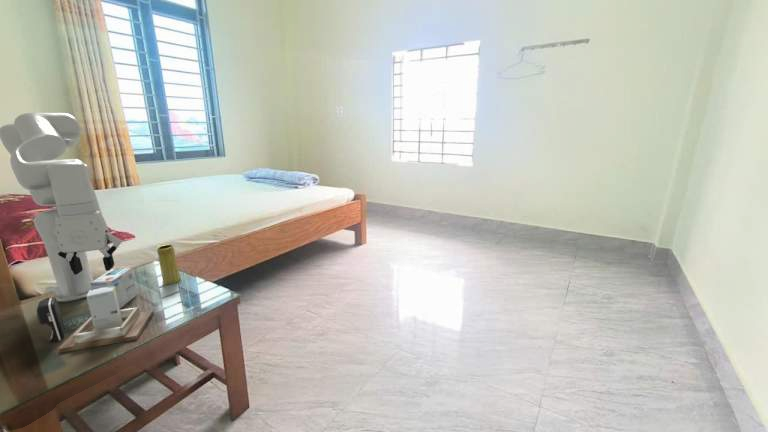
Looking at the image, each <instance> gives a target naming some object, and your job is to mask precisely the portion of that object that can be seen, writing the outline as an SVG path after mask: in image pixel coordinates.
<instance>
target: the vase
mask: <svg viewBox="0 0 768 432" xmlns="http://www.w3.org/2000/svg"><path fill="white" fill-rule="evenodd" d="M156 249H157V254H158V255H157V256H158V261H159V265H160V266H159V267H160V271H161V272H160V273H161V277H162V283H163V284H164V285H172V284H173V285H174V284H176V283H179V282H180V281H181V280H182V278H181V274H180V270H179V266H178V262H177V258H176V253H175V248H174V245H173V244H163V245H160V246H157V247H156Z"/></svg>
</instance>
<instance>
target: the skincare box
mask: <svg viewBox="0 0 768 432" xmlns="http://www.w3.org/2000/svg"><path fill="white" fill-rule="evenodd" d="M86 300H87V301H86V302H87V304H88V309H89V311H90V312H89V313H90V317H91V318H92V322H93V326H94V330H95V331H97V330H103V329H109V328H115V327H121V325H122V317H121V313H120V310H121V308H119V304H118V299H117V294H116V290H115V286H110V287H104V288H99V289H94V290H89V292H88V294H87V297H86Z"/></svg>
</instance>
